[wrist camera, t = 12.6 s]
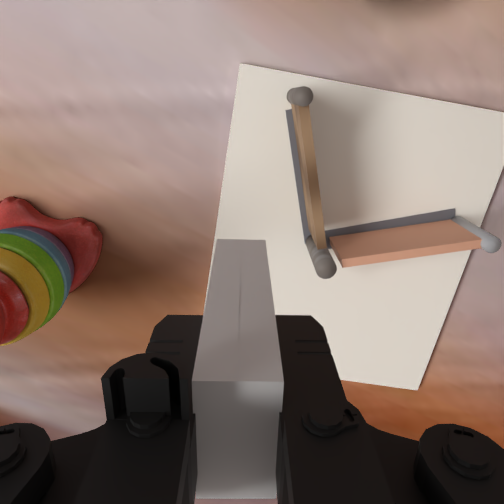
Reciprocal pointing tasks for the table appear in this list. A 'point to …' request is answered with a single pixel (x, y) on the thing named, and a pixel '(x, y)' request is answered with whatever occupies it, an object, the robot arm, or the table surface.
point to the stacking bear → (40, 265)
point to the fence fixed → (310, 182)
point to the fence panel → (412, 242)
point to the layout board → (359, 208)
